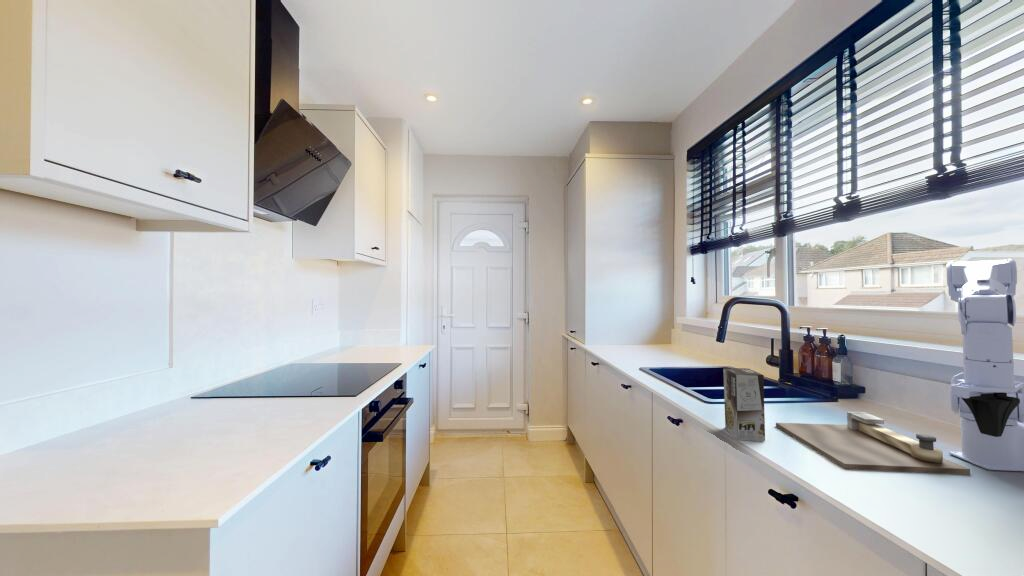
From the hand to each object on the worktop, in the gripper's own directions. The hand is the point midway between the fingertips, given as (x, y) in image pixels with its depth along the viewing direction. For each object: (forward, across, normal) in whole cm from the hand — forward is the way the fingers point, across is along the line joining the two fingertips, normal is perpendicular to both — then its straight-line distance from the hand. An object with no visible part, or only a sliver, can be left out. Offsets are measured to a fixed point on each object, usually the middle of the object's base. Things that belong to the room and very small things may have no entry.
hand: (990, 434), depth 69 cm
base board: (+9, +4, -20) cm, 22 cm away
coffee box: (+10, +24, -32) cm, 41 cm away
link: (+8, -2, -16) cm, 18 cm away
